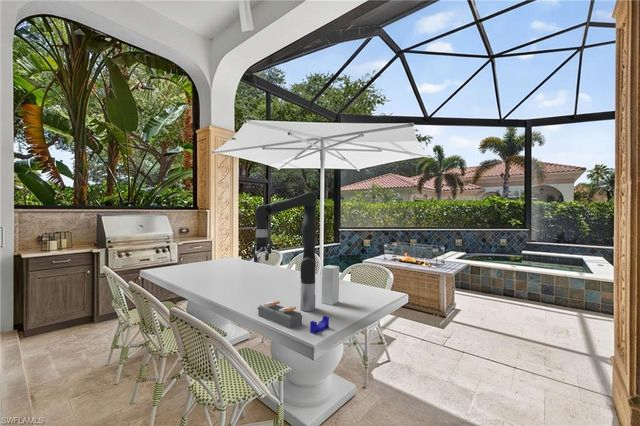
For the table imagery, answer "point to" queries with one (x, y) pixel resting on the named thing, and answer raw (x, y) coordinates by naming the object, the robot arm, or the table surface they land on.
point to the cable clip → (319, 325)
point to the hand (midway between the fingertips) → (261, 261)
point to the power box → (280, 315)
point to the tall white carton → (330, 284)
